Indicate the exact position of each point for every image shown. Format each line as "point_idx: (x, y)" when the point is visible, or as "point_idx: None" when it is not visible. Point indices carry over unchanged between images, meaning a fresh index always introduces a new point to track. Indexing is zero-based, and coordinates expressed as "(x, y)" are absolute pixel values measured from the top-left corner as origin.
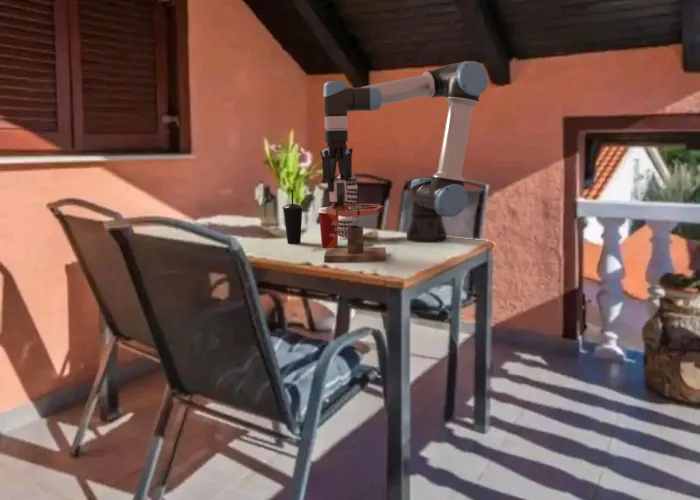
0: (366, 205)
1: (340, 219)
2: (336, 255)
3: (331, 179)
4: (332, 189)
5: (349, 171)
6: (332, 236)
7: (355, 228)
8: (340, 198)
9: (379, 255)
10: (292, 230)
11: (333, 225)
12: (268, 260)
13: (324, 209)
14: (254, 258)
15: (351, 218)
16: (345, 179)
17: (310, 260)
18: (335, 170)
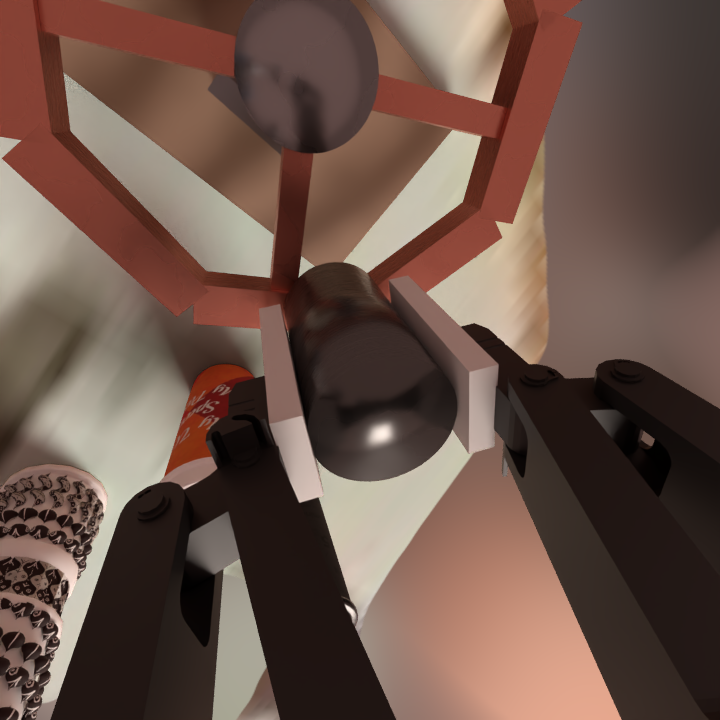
0: (84, 160)
1: (73, 561)
2: (415, 80)
3: (561, 392)
4: (474, 337)
5: (162, 579)
6: (230, 387)
7: None
8: (359, 285)
9: None
10: (319, 523)
11: (222, 416)
12: (539, 304)
13: None
14: (538, 358)
15: (14, 545)
16: (273, 447)
17: (456, 199)
18: (585, 495)
